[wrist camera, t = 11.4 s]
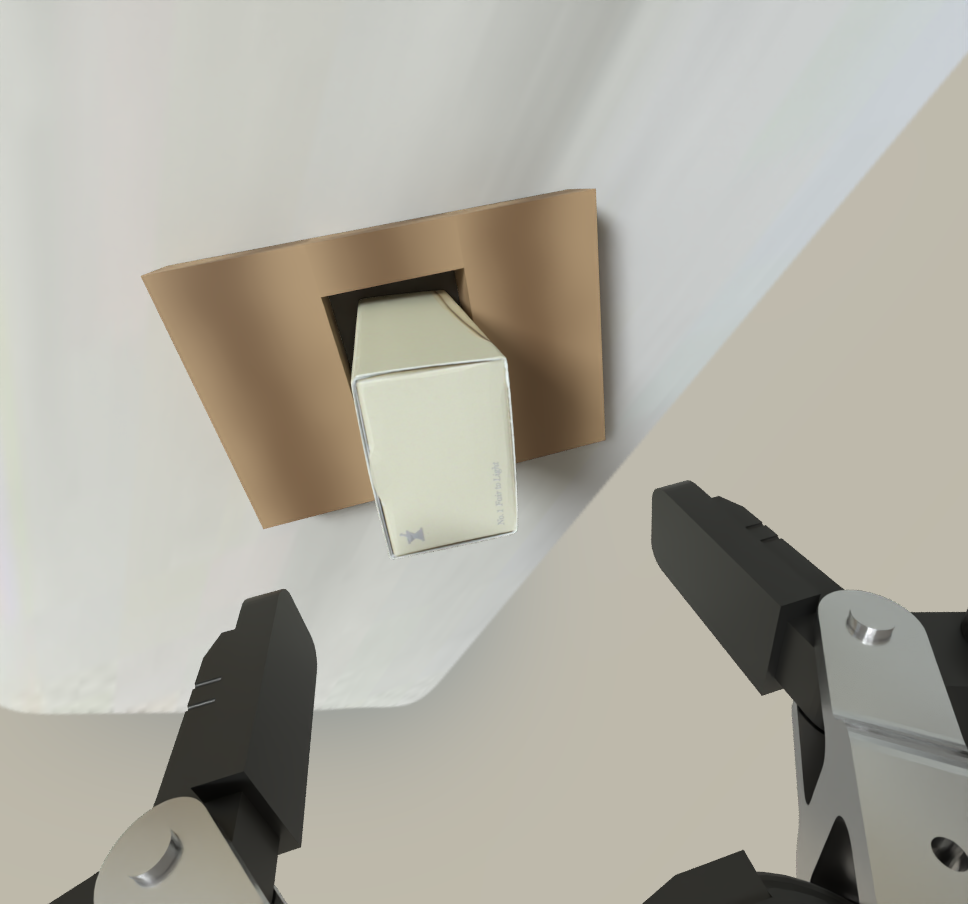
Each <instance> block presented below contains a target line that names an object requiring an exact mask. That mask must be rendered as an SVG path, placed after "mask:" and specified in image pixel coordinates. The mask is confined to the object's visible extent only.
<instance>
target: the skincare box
mask: <svg viewBox="0 0 968 904" xmlns="http://www.w3.org/2000/svg"><path fill="white" fill-rule="evenodd" d="M351 388H352V393H353V398H354V404H355V409H356V414H357V419H358V424H359V429H360V434H361V439H362V444H363V449H364V454H365V459H366V464H367V469H368V473H369V477H370V482H371V486H372V490H373V494H374V498H375V502H376V507H377V511H378V515H379V519H380V523H381V526H382V530H383V535H384V538H385V542H386V545H387V549H388V555H389V557H390V559H392V560H394V559H398V558H403V557H407V556H413V555H418V554H424V553H427V552H434V551H438V550H444V549H448V548H453V547H458V546H462V545H467V544H473V543H477V542H481V541H486V540H490V539H495V538H499V537H503V536H508V535H512V534H515V533H516V532H517V529H518V498H517V476H516V457H515V444H514V429H513V417H512V405H511V393H510V380H509V372H508V363H507V358H506V357H505V356H504V355H503V354H502V353H501V352H500V351H499V349H498V348H497V347H496V346H495V345H494V344H493V343H492V342H491V341H490V340H489V339H488V338H487V336H486V335H485V334H484V333H483V332H482V331H481V330H480V329H479V328H478V326H477V325H476V324H475V323H474V322H473V321H472V320H471V319H470V318H469V316H468V315H467V314H466V313H465V312H464V311H463V310H462V309H461V307H459V305H458V304H457V303H456V302H455V301H454V300H453V299H452V298H451V297H450V295H449V294H448V293H447V292H446V291H445V290H435V291H424V292H413V293H404V294H395V295H386V296H378V297H370V298H363V299H361V300H359V302H358V312H357V323H356V333H355V346H354V356H353V366H352V376H351Z"/></svg>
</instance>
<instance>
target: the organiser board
mask: <svg viewBox="0 0 968 904" xmlns="http://www.w3.org/2000/svg"><path fill="white" fill-rule="evenodd" d="M451 270H454V273H455V278H456V284H457V289H458V295H459V301H460V306H461V309H462V310H463V311H464V312H465V313H466V314H467V315H468V316H469V318H470V319H471V320H472V321H473V322H474V323H475V324H476V325H477V326H478V328H479V329H480V330H481V331H482V332H483V333H484V334H485V335H486V336H487V338H488V339H489V340H490V341H491V342H492V343H493V344H494V345H495V346H496V347H497V348H498V349H499V351H500V352H501V353H502V354H503V355H504V356H505V357H506V358H507V363H508V372H509V380H510V393H511V405H512V417H513V429H514V444H515V457H516V463H519V462H523V461H527V460H531V459H534V458H538V457H542V456H546V455H550V454H554V453H558V452H561V451H565V450H569V449H573V448H577V447H581V446H584V445H588V444H592V443H596V442H600V441H604V440H605V418H604V392H603V366H602V339H601V313H600V287H599V261H598V235H597V209H596V189H568V190H563V191H557V192H552V193H547V194H542V195H536V196H531V197H526V198H521V199H515V200H510V201H505V202H500V203H494V204H489V205H484V206H479V207H473V208H468V209H463V210H458V211H453V212H447V213H442V214H437V215H432V216H426V217H421V218H416V219H411V220H405V221H400V222H395V223H390V224H384V225H379V226H374V227H369V228H363V229H358V230H353V231H348V232H342V233H337V234H332V235H327V236H321V237H316V238H311V239H306V240H301V241H295V242H290V243H285V244H280V245H274V246H269V247H264V248H259V249H253V250H248V251H243V252H238V253H232V254H227V255H222V256H217V257H211V258H206V259H201V260H196V261H190V262H185V263H180V264H175V265H169V266H166V267H163V268H161V269H158V270H155V271H153V272H150V273H147V274H145V275H142V276H141V278H142V280H143V282H144V284H145V286H146V288H147V290H148V292H149V294H150V296H151V298H152V300H153V302H154V304H155V306H156V309H157V311H158V313H159V315H160V317H161V319H162V321H163V323H164V325H165V327H166V329H167V331H168V333H169V335H170V337H171V339H172V341H173V344H174V346H175V348H176V350H177V352H178V354H179V356H180V358H181V360H182V362H183V364H184V366H185V368H186V370H187V372H188V374H189V377H190V379H191V381H192V383H193V385H194V387H195V389H196V391H197V393H198V395H199V397H200V399H201V401H202V403H203V405H204V407H205V409H206V412H207V414H208V416H209V418H210V420H211V422H212V424H213V426H214V428H215V430H216V432H217V434H218V436H219V438H220V440H221V442H222V444H223V447H224V449H225V451H226V453H227V455H228V457H229V459H230V461H231V463H232V465H233V467H234V469H235V471H236V473H237V475H238V477H239V479H240V482H241V484H242V486H243V488H244V490H245V492H246V494H247V496H248V498H249V500H250V502H251V504H252V506H253V508H254V510H255V512H256V515H257V517H258V519H259V521H260V523H261V525H262V527H263V529H266V528H270V527H273V526H277V525H281V524H285V523H289V522H293V521H296V520H300V519H304V518H308V517H312V516H316V515H319V514H323V513H327V512H331V511H335V510H339V509H343V508H346V507H350V506H354V505H358V504H362V503H366V502H369V501H373V500H375V498H374V494H373V490H372V486H371V482H370V477H369V473H368V469H367V464H366V459H365V454H364V449H363V444H362V439H361V434H360V429H359V424H358V419H357V414H356V409H355V404H354V398H353V393H352V388H351V376H352V371H351V368H350V365H349V362H348V358H347V355H346V352H345V349H344V345H343V342H342V339H341V336H340V332H339V329H338V326H337V323H336V319H335V316H334V313H333V310H332V306H331V303H330V300H329V297H328V296H330V295H335V294H340V293H344V292H349V291H354V290H359V289H364V288H369V287H373V286H378V285H383V284H388V283H393V282H398V281H403V280H407V279H412V278H417V277H422V276H427V275H432V274H437V273H441V272H446V271H451Z"/></svg>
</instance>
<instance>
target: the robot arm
mask: <svg viewBox="0 0 968 904" xmlns="http://www.w3.org/2000/svg"><path fill="white" fill-rule="evenodd" d="M651 537H652V538H651V543H652V549H653V553H654V556H655V558H656V561H657V563H658V565H659V567H660V568H661V570H662V571H663V572H664V573H665V575H666V576H667V577H668V578H669V580H670V581H671V582H672V584H673V585H674V586H675V587H676V589H677V590H678V591H679V592H680V594H681V595H682V596H683V597H684V599H685V600H686V601H687V602H688V604H689V605H690V606H691V607H692V609H693V610H694V611H695V612H696V613H697V615H698V616H699V617H700V619H701V620H702V621H703V622H704V624H705V625H706V626H707V627H708V629H709V630H710V631H711V632H712V634H713V635H714V636H715V637H716V639H717V640H718V641H719V642H720V644H721V645H722V646H723V648H724V649H725V650H726V651H727V653H728V654H729V655H730V656H731V658H732V659H733V660H734V661H735V663H736V664H737V665H738V666H739V668H740V669H741V670H742V671H743V672H744V674H745V675H746V676H747V678H748V679H749V680H750V681H751V683H752V684H753V685H754V686H755V687H756V689H757V690H758V691H759V693H760V694H761V695H766V694H769V693H772V692H774V691H777V690H781V689H785V691H786V692H787V693H788V694H789V696H790V697H791V698H792V699H793V704H792V723H793V737H794V750H795V764H796V777H797V790H798V804H799V829H798V838H797V852H796V875H797V878H793V877H790V876H786V875H781V874H774V873H766V872H756V871H755V869H754V867H753V865H752V864H751V862H750V860H749V859H748V857H747V855H746V853H745V851H744V850H742V851H739V852H736V853H734V854H731V855H728V856H726V857H723V858H720V859H718V860H715V861H712V862H710V863H707V864H704V865H702V866H699V867H696V868H693V869H691V870H688V871H685V872H683V873H680V874H677V875H675V876H674V877H673V878H671V879H670V880H669V881H668V882H667V883H666V884H665V885H663V886H662V887H661V888H660V889H659V890H658V891H656V892H655V893H654V894H653V895H652V896H651V897H650V898H648V899H647V900H646V901H645V902H644V903H643V904H968V609H967V612H916V613H915V612H909V611H908V610H907V609H905V608H904V607H902V606H900V605H899V604H897V603H895V602H893V601H892V600H890V599H887V598H885V597H883V596H880V595H876V594H873V593H870V592H865V591H859V590H844V589H843V588H841V587H840V586H839V585H838V584H836V583H835V582H834V581H833V580H832V579H830V578H829V577H828V576H827V575H826V574H824V573H823V572H822V571H821V570H819V569H818V568H817V567H816V566H814V565H813V564H812V563H811V562H810V561H809V560H807V559H806V558H805V557H804V556H802V555H801V554H800V553H799V552H797V551H796V550H795V549H794V548H793V547H792V546H790V545H789V544H788V543H787V542H785V541H784V540H783V539H779V538H778V535H777V534H775V533H774V532H773V531H772V530H771V529H770V528H768V527H767V526H766V525H765V526H763V524H762V522H761V521H760V520H759V519H758V518H756V517H755V516H754V515H753V514H751V513H750V512H749V511H748V510H747V509H745V508H744V507H743V506H740V505H738V504H736V503H733V502H731V501H729V500H727V499H724V498H722V497H720V496H718V497H714V498H711V497H710V496H709V495H708V494H706V493H705V492H704V491H703V490H702V489H701V488H700V487H698V486H697V485H696V484H695V483H693V482H691V481H688V480H687V481H683V482H679V483H676V484H672V485H668V486H665V487H661V488H657V489H655V490H654V492H653V496H652V535H651ZM316 674H317V658H316V651H315V646H314V643H313V640H312V637H311V635H310V633H309V631H308V629H307V627H306V625H305V623H304V621H303V619H302V617H301V615H300V613H299V611H298V609H297V607H296V605H295V603H294V601H293V599H292V597H291V595H290V593H289V592H288V591H287V590H286V589H281V590H277V591H274V592H270V593H266V594H263V595H259V596H255V597H252V598H248V599H246V600H245V601H244V602H243V604H242V607H241V610H240V614H239V618H238V621H237V625H236V628H235V629H234V630H231V631H227V632H223V633H221V635H220V636H219V637H218V639H217V640H216V641H215V643H214V644H213V646H212V647H211V648H210V650H209V651H208V652H207V654H206V655H205V657H204V658H203V661H202V664H201V667H200V670H199V673H198V676H197V679H196V682H195V689H193V691H192V694H191V697H190V700H189V703H188V711H186V712H185V715H184V718H183V721H182V724H181V727H180V729H179V733H178V736H177V739H176V741H175V745H174V747H173V750H172V754H171V756H170V759H169V762H168V766H167V769H166V771H165V774H164V777H163V781H162V783H161V786H160V790H159V793H158V795H157V798H156V801H155V803H154V806H153V808H152V809H150V810H149V811H147V812H146V813H144V814H143V815H142V816H141V817H139V818H138V819H137V820H136V821H135V822H134V823H133V824H132V825H131V826H130V827H129V828H128V829H127V830H126V831H125V832H124V833H123V834H122V836H121V837H120V838H119V839H118V840H117V842H116V843H115V844H114V846H113V847H112V849H111V850H110V852H109V854H108V855H107V857H106V859H105V861H104V863H103V865H102V867H101V869H100V871H99V872H97V873H96V874H94V875H93V876H91V877H90V878H88V879H87V880H85V881H84V882H82V883H81V884H79V885H77V886H76V887H74V888H73V889H72V890H70V891H68V892H66V893H65V894H63V895H62V896H60V897H59V898H57V899H55V900H54V901H52V902H51V903H50V904H287V903H286V901H285V900H284V898H283V897H282V895H281V893H280V892H279V890H278V889H277V887H276V886H275V885H274V881H275V873H276V864H277V857H278V855H279V854H282V853H285V852H288V851H291V850H294V849H297V848H300V847H301V842H302V831H303V820H304V808H305V797H306V786H307V775H308V764H309V752H310V741H311V730H312V719H313V707H314V696H315V685H316Z"/></svg>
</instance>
